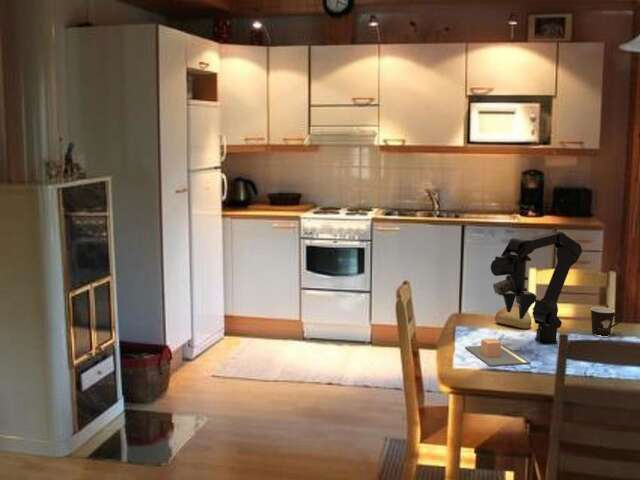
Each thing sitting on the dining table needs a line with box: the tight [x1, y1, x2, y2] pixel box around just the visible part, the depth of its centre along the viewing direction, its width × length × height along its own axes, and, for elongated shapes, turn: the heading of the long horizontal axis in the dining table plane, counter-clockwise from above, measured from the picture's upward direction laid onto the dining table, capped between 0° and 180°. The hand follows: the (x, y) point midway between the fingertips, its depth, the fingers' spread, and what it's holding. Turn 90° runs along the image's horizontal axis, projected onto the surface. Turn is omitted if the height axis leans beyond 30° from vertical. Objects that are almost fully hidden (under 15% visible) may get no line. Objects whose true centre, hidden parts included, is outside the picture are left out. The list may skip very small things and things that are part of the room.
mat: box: [464, 343, 531, 368], centre depth 256 cm, size 15×20×1 cm
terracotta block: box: [480, 338, 502, 357], centre depth 255 cm, size 5×5×5 cm
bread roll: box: [494, 305, 532, 330], centre depth 293 cm, size 10×15×8 cm, turn 56°
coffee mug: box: [590, 306, 623, 336], centre depth 282 cm, size 12×9×10 cm
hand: (514, 315), depth 264 cm, fingers open, 9 cm apart
